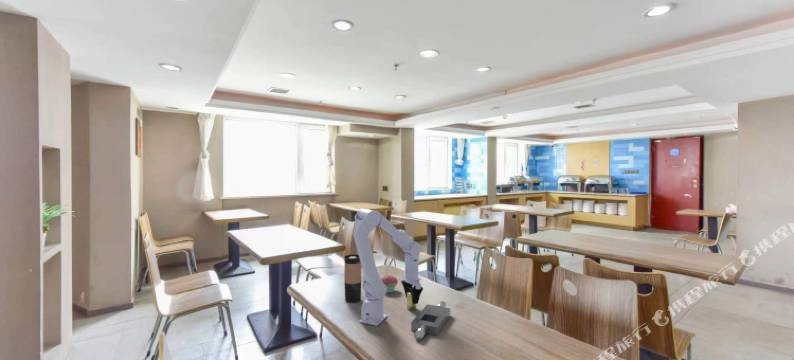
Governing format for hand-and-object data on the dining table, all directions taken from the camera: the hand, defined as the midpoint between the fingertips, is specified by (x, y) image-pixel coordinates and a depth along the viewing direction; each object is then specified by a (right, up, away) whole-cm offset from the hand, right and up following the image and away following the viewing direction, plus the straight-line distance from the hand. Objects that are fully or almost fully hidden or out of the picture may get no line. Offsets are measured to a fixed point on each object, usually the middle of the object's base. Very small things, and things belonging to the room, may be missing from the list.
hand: (411, 300), depth 144 cm
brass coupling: (0, -4, 0) cm, 4 cm away
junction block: (+7, -4, -13) cm, 15 cm away
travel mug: (-26, -4, +10) cm, 28 cm away
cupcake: (-10, -3, +21) cm, 24 cm away
